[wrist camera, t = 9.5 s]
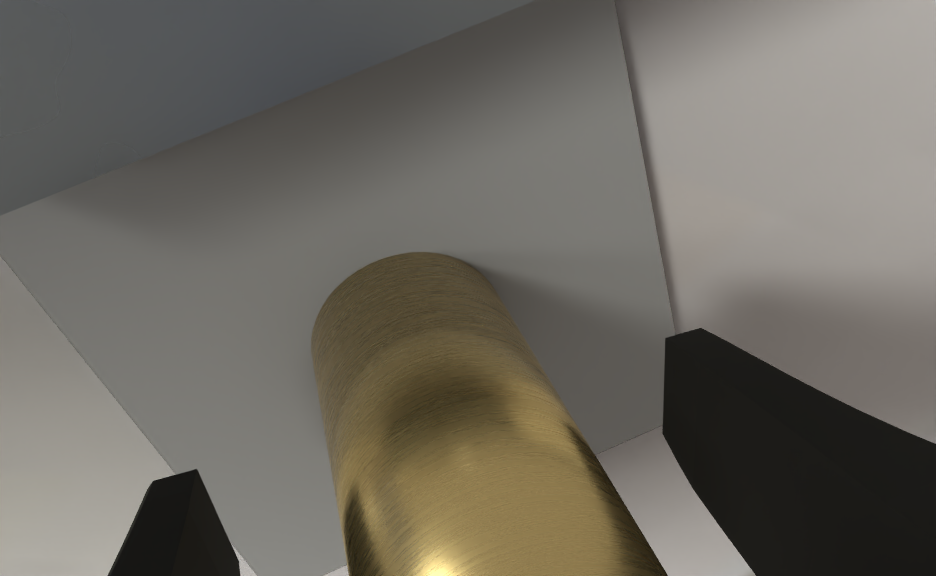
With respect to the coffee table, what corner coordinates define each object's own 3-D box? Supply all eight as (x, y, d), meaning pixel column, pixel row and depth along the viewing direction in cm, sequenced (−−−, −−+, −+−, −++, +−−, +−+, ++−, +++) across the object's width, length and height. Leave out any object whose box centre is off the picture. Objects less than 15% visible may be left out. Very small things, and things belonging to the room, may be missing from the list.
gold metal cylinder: (519, 380, 15) (702, 714, 9) (346, 442, 15) (425, 833, 9) (482, 224, 13) (685, 525, 7) (281, 292, 13) (328, 664, 7)
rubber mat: (273, 581, 17) (274, 596, 17) (-23, 206, 11) (-29, 218, 11) (681, 401, 18) (690, 412, 17) (596, -42, 12) (607, -37, 12)
